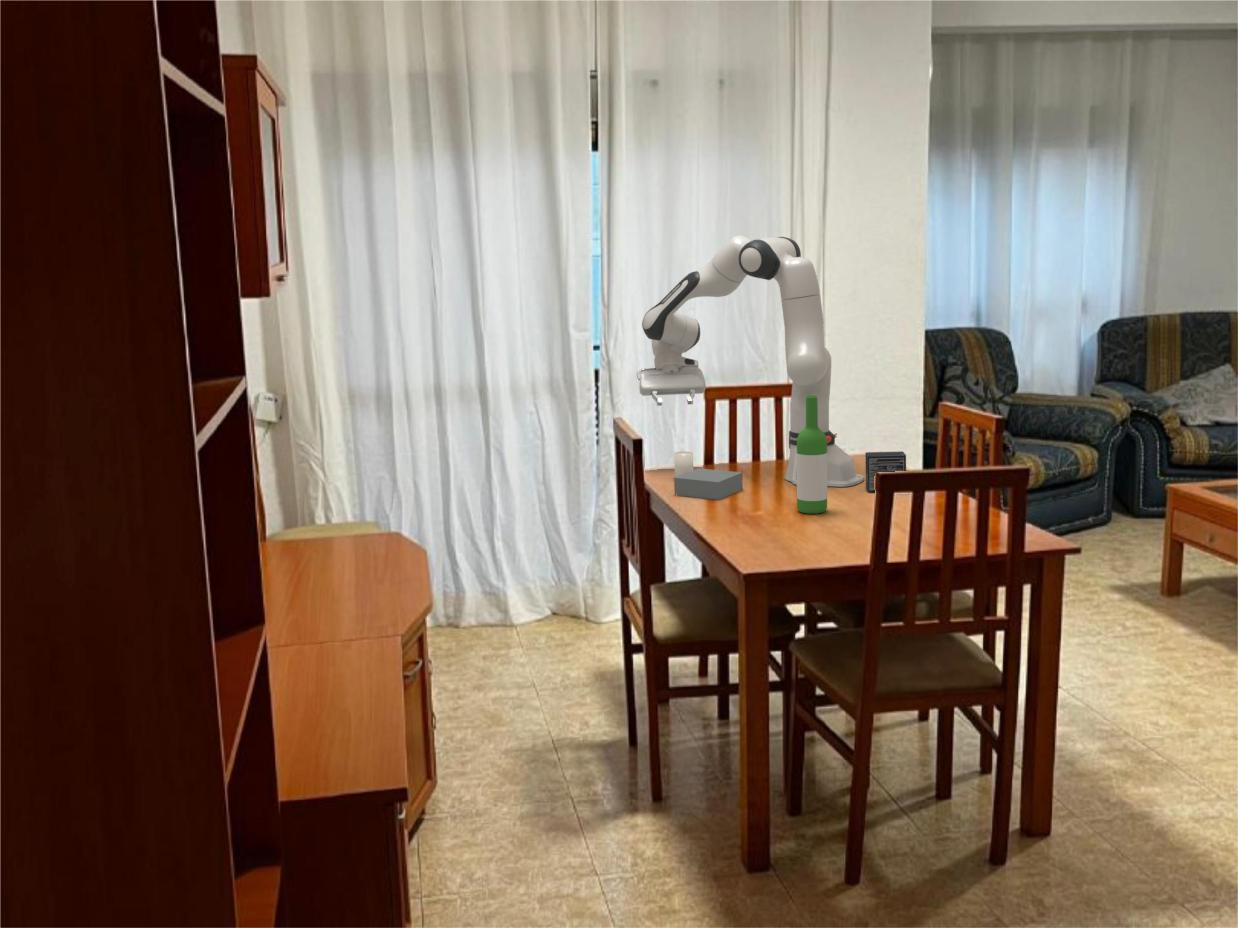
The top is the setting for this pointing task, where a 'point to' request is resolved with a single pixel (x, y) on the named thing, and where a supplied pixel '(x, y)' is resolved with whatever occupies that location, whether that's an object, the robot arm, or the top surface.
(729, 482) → the plinth
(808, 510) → the wine bottle
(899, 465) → the small box
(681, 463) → the cylinder
